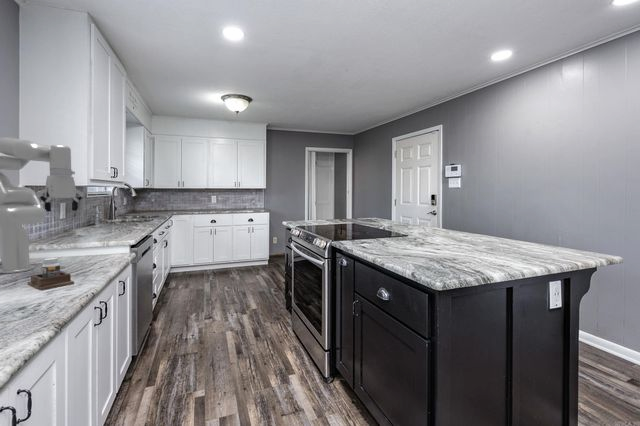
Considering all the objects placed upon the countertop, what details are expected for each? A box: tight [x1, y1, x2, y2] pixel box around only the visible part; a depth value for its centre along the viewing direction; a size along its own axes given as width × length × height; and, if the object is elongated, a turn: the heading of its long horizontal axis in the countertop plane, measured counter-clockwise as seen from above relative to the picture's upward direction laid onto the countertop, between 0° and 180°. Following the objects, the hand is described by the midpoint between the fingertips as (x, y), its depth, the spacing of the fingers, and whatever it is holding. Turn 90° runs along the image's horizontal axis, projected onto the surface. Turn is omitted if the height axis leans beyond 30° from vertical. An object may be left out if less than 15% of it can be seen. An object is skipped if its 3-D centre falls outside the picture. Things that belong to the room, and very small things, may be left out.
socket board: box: [27, 270, 75, 291], centre depth 130 cm, size 14×11×4 cm
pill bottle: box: [41, 257, 61, 278], centre depth 130 cm, size 6×6×10 cm
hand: (61, 210), depth 141 cm, fingers open, 9 cm apart
